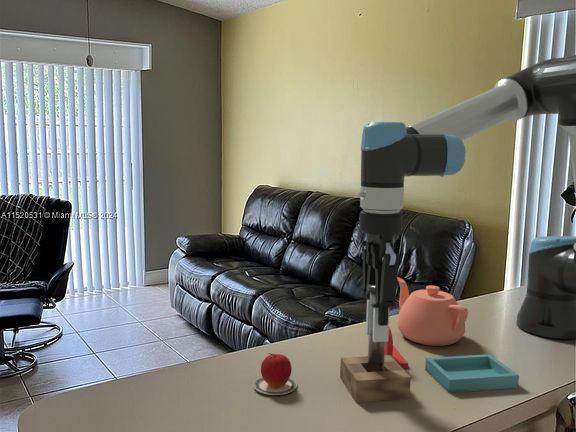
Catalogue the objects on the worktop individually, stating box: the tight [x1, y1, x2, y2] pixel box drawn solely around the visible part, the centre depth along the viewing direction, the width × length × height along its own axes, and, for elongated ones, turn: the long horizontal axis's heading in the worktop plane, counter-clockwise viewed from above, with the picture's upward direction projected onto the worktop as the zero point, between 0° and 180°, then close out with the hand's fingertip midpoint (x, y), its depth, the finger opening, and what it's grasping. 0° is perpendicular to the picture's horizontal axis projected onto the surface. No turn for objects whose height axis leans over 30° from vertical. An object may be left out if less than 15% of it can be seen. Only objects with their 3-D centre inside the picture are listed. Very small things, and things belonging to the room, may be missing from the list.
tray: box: [424, 354, 520, 394], centre depth 104 cm, size 14×10×2 cm
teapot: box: [396, 276, 469, 347], centre depth 126 cm, size 22×15×12 cm
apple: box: [253, 352, 298, 396], centre depth 99 cm, size 8×8×6 cm
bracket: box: [385, 326, 409, 369], centre depth 114 cm, size 12×4×8 cm, turn 7°
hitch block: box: [339, 355, 412, 403], centre depth 100 cm, size 10×10×4 cm
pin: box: [367, 283, 385, 367], centre depth 98 cm, size 4×4×15 cm
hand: (376, 337), depth 99 cm, fingers closed on pin, 3 cm apart
